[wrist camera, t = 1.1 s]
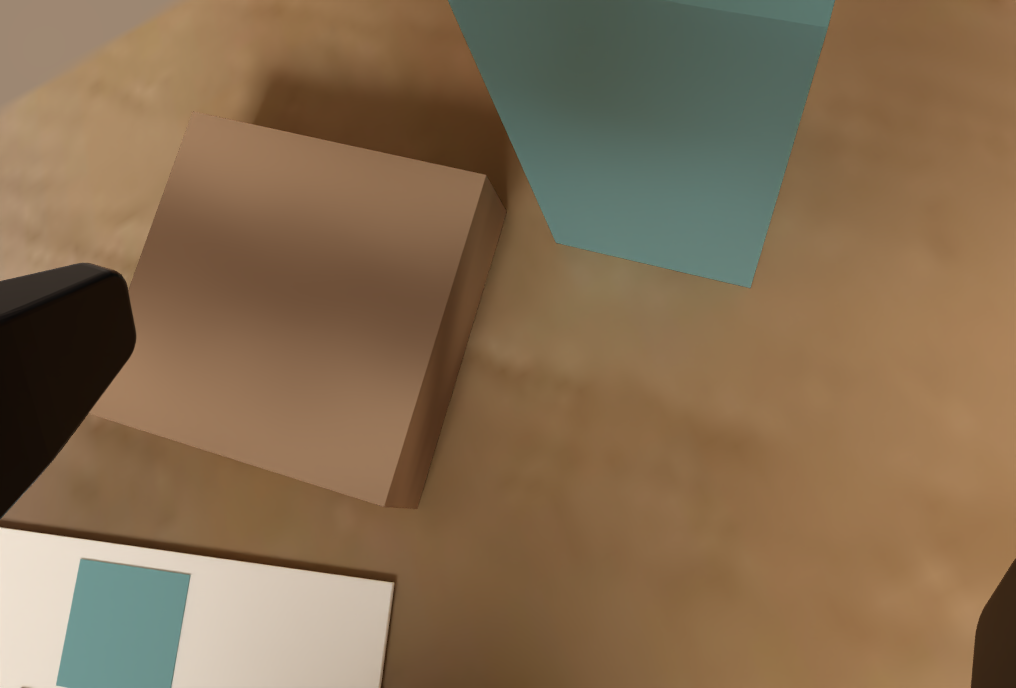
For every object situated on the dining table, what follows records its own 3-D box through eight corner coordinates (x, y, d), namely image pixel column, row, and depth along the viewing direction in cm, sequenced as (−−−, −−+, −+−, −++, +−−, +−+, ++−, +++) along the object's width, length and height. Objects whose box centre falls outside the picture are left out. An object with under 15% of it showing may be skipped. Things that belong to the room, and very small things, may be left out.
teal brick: (750, 288, 22) (827, 27, 10) (556, 242, 23) (431, -37, 12) (799, 101, 23) (923, -338, 11) (607, 66, 24) (538, -364, 12)
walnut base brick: (421, 509, 23) (384, 507, 20) (154, 424, 25) (84, 412, 22) (509, 217, 24) (486, 174, 21) (247, 157, 26) (192, 111, 23)
